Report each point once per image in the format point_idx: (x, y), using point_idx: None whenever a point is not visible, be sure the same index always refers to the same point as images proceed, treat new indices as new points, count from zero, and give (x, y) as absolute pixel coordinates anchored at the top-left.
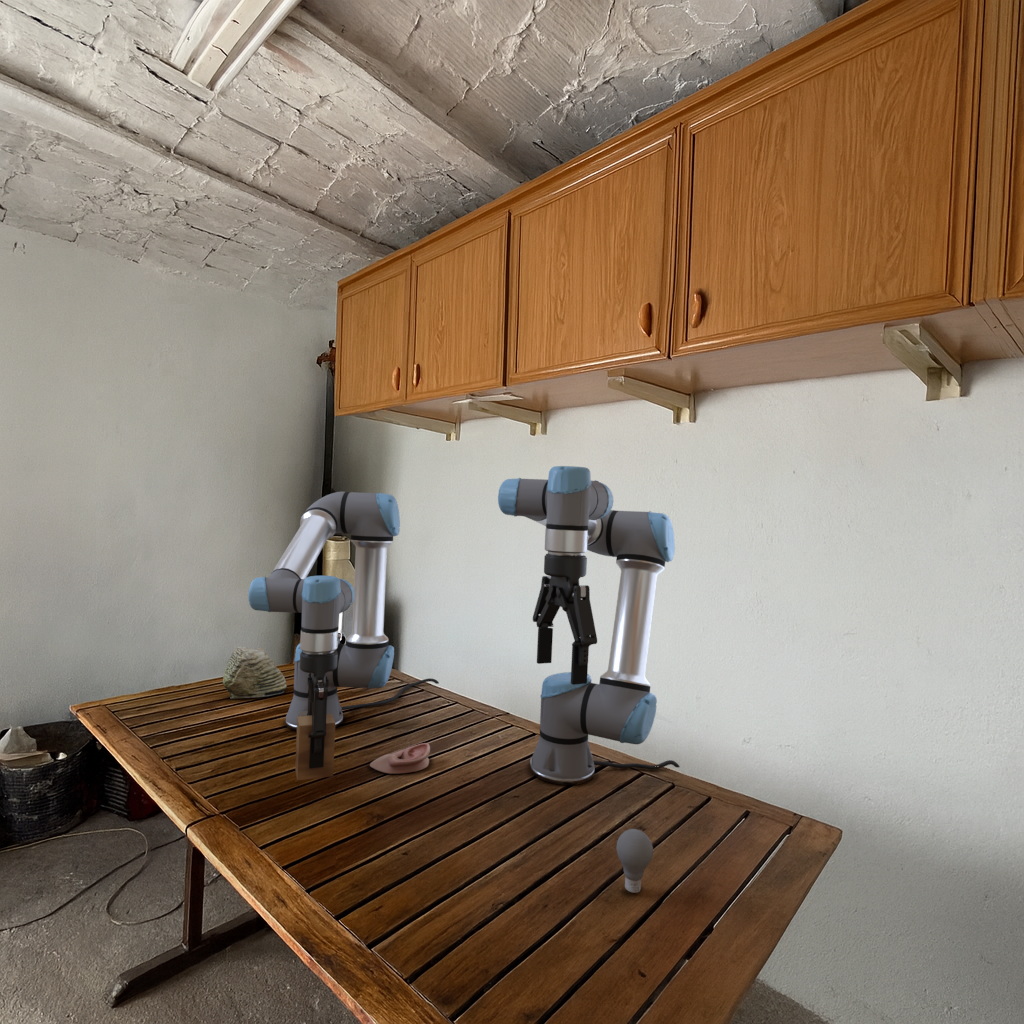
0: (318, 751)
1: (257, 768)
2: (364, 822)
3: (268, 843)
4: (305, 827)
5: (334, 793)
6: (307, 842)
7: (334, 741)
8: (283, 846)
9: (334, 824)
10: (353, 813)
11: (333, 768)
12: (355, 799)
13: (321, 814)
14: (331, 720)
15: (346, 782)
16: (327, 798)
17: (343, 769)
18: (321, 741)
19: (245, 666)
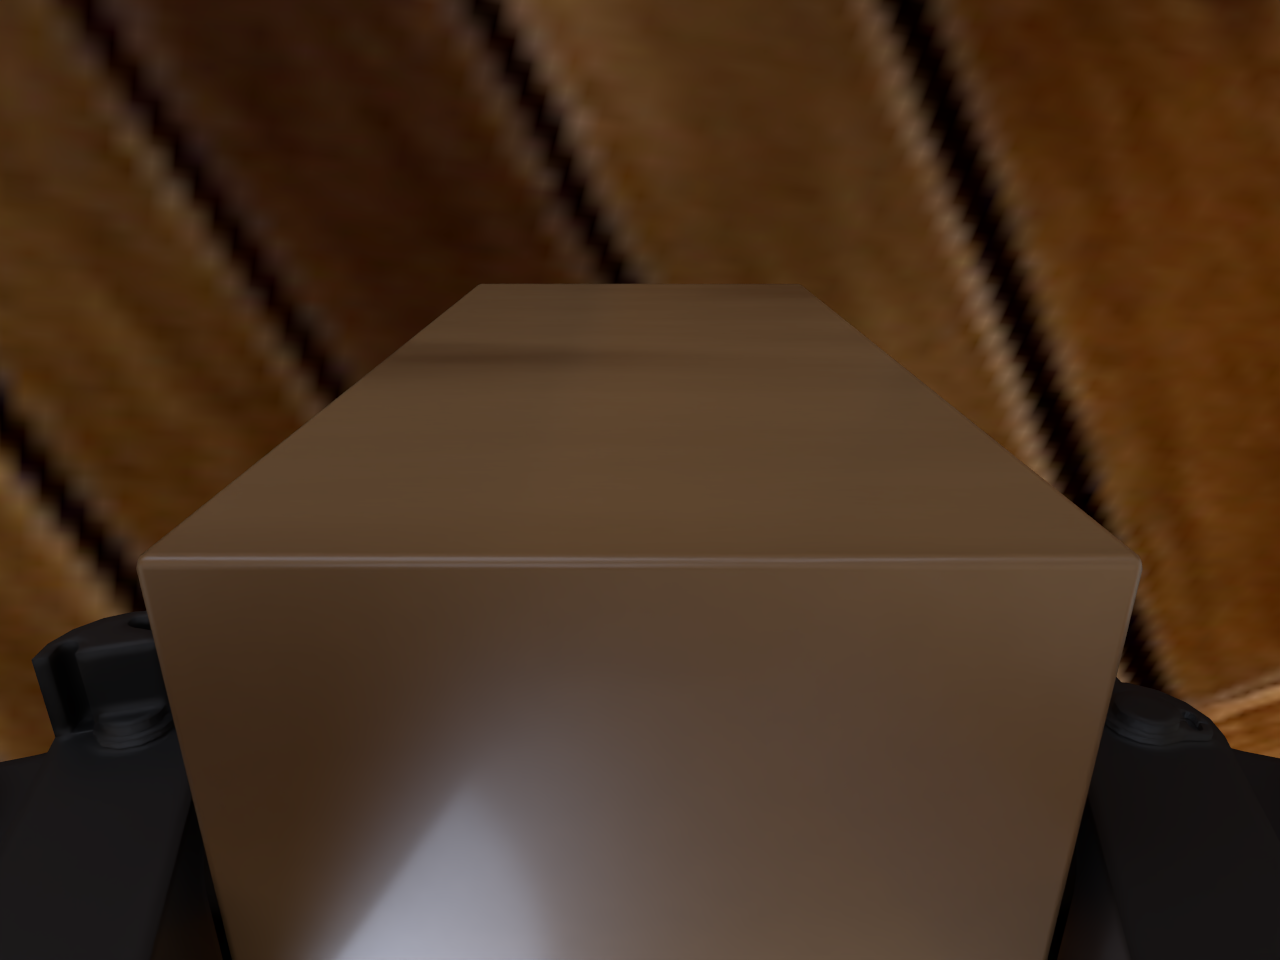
0: None
1: (18, 728)
2: (1204, 19)
3: (1134, 682)
4: (1050, 474)
5: (583, 208)
6: (1252, 476)
7: (928, 388)
8: (1216, 609)
9: (1109, 274)
10: (1007, 92)
11: (816, 297)
12: (757, 30)
13: (911, 352)
14: (880, 650)
15: (379, 63)
16: (659, 278)
17: (67, 49)
18: (1115, 680)
19: None
